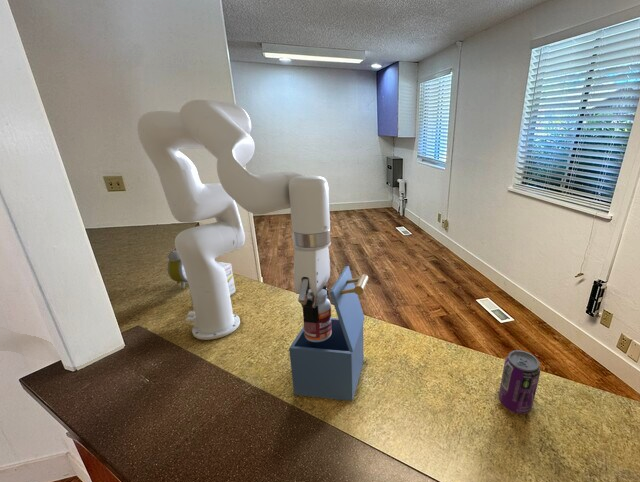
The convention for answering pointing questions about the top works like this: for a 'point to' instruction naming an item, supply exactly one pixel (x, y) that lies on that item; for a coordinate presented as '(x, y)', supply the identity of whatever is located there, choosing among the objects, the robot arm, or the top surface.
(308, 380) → the chest
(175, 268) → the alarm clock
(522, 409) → the beverage can
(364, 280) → the lid
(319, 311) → the pill bottle
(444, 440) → the top surface
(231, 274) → the ink box
